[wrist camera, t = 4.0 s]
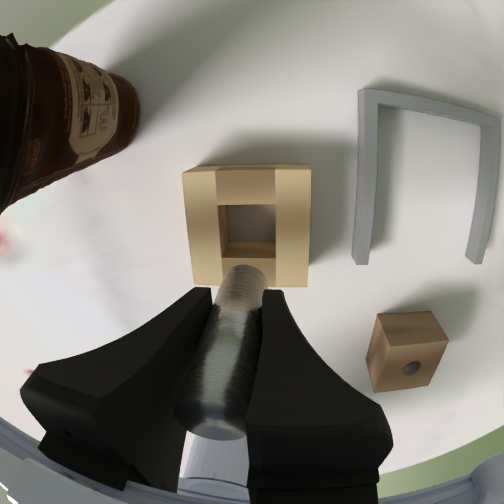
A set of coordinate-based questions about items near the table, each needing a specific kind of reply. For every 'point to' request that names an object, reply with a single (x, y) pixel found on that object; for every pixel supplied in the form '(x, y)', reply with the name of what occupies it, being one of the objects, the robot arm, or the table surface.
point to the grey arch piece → (368, 165)
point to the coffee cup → (57, 117)
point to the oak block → (243, 193)
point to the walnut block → (404, 350)
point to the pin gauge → (225, 359)
